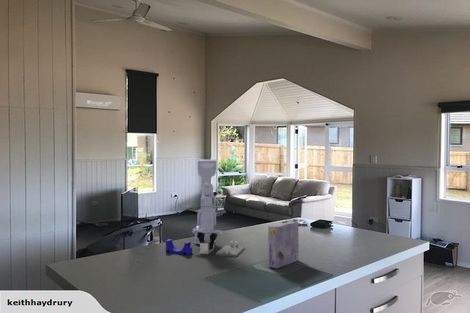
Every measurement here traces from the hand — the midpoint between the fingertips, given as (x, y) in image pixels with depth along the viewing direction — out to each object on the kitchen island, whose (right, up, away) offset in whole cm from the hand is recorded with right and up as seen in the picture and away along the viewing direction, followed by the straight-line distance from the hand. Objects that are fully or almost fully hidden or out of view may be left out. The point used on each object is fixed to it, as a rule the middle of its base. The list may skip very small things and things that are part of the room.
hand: (207, 248), depth 200 cm
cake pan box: (+35, -3, -19) cm, 40 cm away
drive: (0, -1, 0) cm, 1 cm away
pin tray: (+11, -2, 0) cm, 11 cm away
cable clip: (-13, -2, -3) cm, 14 cm away
